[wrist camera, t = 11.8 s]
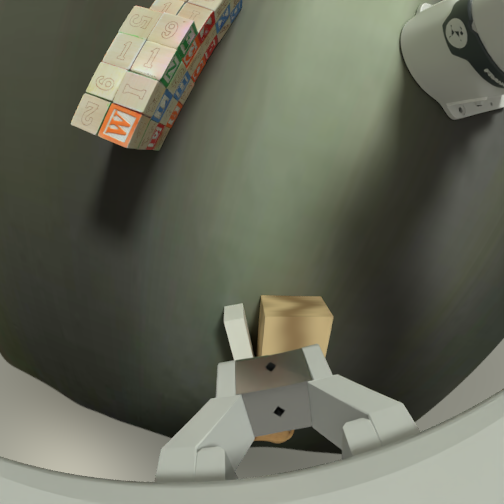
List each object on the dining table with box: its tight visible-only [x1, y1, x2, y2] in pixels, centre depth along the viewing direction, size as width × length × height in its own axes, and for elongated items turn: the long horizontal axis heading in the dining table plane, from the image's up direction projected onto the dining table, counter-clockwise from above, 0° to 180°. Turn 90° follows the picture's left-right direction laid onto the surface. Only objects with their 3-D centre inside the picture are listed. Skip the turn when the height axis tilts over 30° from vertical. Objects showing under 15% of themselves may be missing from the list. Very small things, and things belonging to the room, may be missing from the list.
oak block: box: [256, 295, 333, 357], centre depth 39 cm, size 8×10×6 cm
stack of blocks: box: [71, 0, 242, 151], centre depth 25 cm, size 21×6×12 cm, turn 153°
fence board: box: [224, 303, 255, 361], centre depth 40 cm, size 2×13×4 cm, turn 11°
